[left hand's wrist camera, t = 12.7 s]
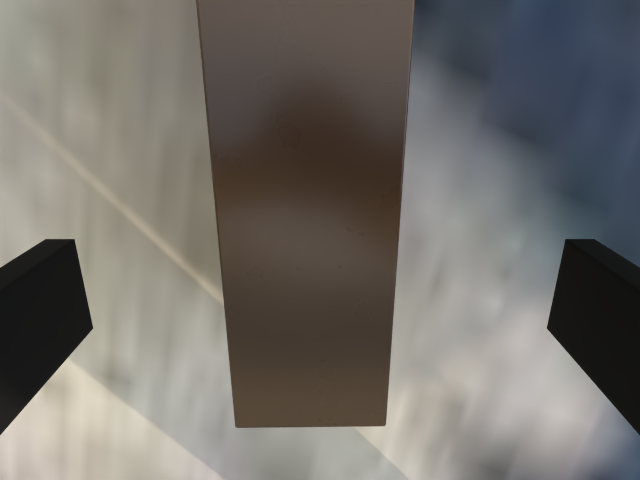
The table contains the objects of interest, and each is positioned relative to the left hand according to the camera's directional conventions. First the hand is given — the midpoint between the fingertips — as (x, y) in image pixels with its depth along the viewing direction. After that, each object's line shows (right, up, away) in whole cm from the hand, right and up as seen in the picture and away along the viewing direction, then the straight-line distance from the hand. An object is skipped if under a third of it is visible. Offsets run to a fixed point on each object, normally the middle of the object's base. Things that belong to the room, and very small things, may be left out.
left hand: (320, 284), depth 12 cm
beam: (0, +24, -2) cm, 24 cm away
